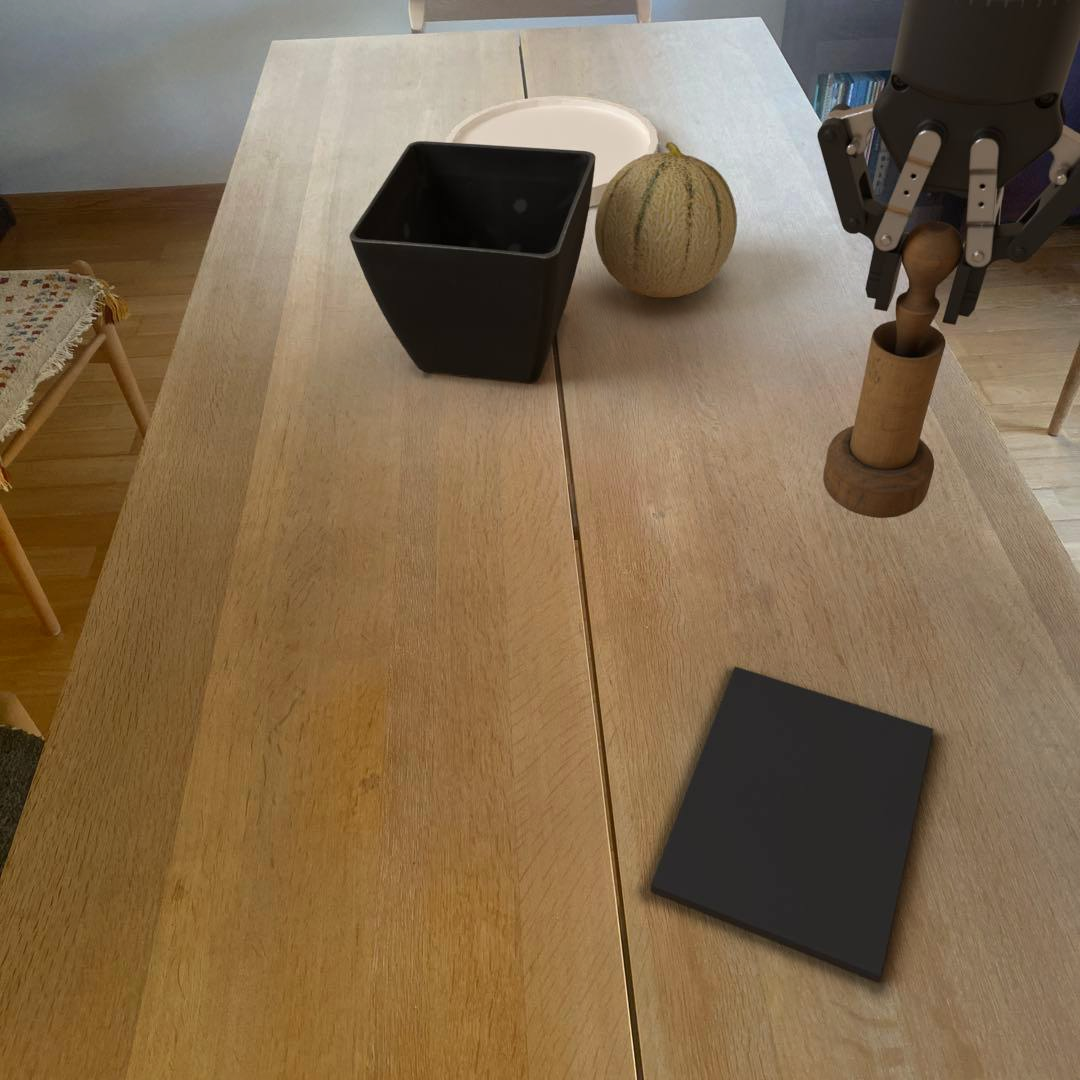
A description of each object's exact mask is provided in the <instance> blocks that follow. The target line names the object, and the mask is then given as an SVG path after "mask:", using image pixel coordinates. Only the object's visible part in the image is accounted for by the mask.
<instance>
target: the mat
mask: <svg viewBox="0 0 1080 1080" xmlns="http://www.w3.org/2000/svg"><path fill="white" fill-rule="evenodd" d="M933 733H934V728H932V727H929V726H926V725H923V724H919V723H916V722H913V721H911V720H907V719H903V718H900V717H897V716H894V715H892V714H891V715H890V714H888V713H884V712H881V711H878V710H875V709H872V708H869V707H865V706H863V705H859V704H857V703H853V702H850V701H847V700H843V699H840V698H838V697H837V698H836V697H835V696H830V695H827V694H824V693H822V692H819V691H815V690H811V689H808V688H805V687H802V686H799V685H795V684H793V683H789V682H786V681H783V680H779V679H777V678H775V677H774V678H773V677H770V676H767V675H763V674H761V673H758V672H755V671H751V670H748V669H745V668H743V667H742V668H741V667H738V666H734V667H733V670H732V673H731V675H730V678H729V680H728V683H727V686H726V689H725V690H724V693H723V696H722V699H721V701H720V704H719V706H718V709H717V711H716V714H715V716H714V719H713V722H712V725H711V727H710V730H709V733H708V735H707V737H706V740H705V743H704V746H703V748H702V750H701V753H700V756H699V758H698V761H697V763H696V766H695V769H694V771H693V774H692V776H691V778H690V782H689V785H688V787H687V790H686V792H685V795H684V797H683V800H682V803H681V805H680V808H679V810H678V812H677V815H676V819H675V821H674V824H673V826H672V829H671V830H670V833H669V837H668V839H667V841H666V844H665V846H664V849H663V852H662V854H661V857H660V860H659V862H658V865H657V868H656V869H655V873H654V875H653V878H652V880H651V883H650V893H653V894H656V895H658V896H660V897H663V898H664V899H665V898H666V899H668V900H671V901H673V902H676V903H678V904H680V905H683V906H686V907H688V908H691V909H693V910H695V911H698V912H701V913H703V914H706V915H708V916H711V917H712V918H716V919H718V920H720V921H723V922H726V923H728V924H730V925H733V926H735V927H739V928H740V929H743V930H745V931H748V932H751V933H752V934H755V935H758V936H761V937H764V938H766V939H768V940H770V941H774V942H776V943H778V944H780V945H783V946H786V947H788V948H791V949H793V950H795V951H799V952H801V953H803V954H806V955H808V956H810V957H813V958H816V959H819V960H821V961H824V962H826V963H828V964H831V965H833V966H836V967H839V968H841V969H843V970H846V971H849V972H851V973H853V974H856V975H859V976H861V977H864V978H866V979H868V980H871V981H872V982H873V981H874V982H876V983H879V981H880V979H881V978H882V974H883V969H884V964H885V961H886V955H887V950H888V945H889V941H890V935H891V931H892V927H893V922H894V917H895V911H896V908H897V904H898V900H899V899H898V898H899V893H900V889H901V884H902V879H903V876H904V875H903V874H904V871H905V864H906V860H907V856H908V851H909V846H910V841H911V837H912V832H913V827H914V823H915V818H916V813H917V808H918V804H919V799H920V795H921V794H920V793H921V789H922V784H923V779H924V775H925V771H926V767H927V761H928V756H929V751H930V746H931V743H932V739H933V738H932V737H933Z"/></svg>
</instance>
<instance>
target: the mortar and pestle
mask: <svg viewBox="0 0 1080 1080" xmlns="http://www.w3.org/2000/svg"><path fill="white" fill-rule="evenodd" d="M907 234H908V235H907V237H906V238H905V240H904V243H903V246H902V251H901V258H902V263H901V264H902V266H903V269H904V272H905V275H906V277H907V279H908V288H907V290H906V291H904V292H902V293H900V294H899V295H898V296H897V298H896V301H895V320H890V321H886V322H883V323H881V324H879V325H878V326H877V327H875V328H874V330H873V331H872V333H871V338H870V343H869V348H868V354H867V359H866V365H865V370H864V375H863V379H862V380H863V381H862V386H861V391H860V395H859V400H858V406H857V410H856V415H855V419H854V422H853V423H854V425H851V426H849V427H846V428H844V429H843V430H841V431H840V432H838V433H837V434H836V435H835V436H834V437H833V438H832V439H831V441H830V443H829V444H828V447H827V452H826V453H827V454H826V457H825V463H824V466H823V473H822V481H823V485H824V488H825V490H826V492H827V493H828V495H829V496H830V498H832V500H833V501H835V503H837V504H838V505H839V506H841V507H842V508H844V509H845V510H848V511H849V512H852V513H854V514H857V515H861V516H865V517H869V518H876V519H890V518H891V519H892V518H897V517H900V516H903V515H907V514H909V513H910V512H913V511H914V510H916V509H917V508H918V507H920V506H921V504H922V503H923V502H924V501H925V499H926V497H927V495H928V492H929V488H930V485H931V481H932V478H933V474H934V469H935V459H934V455H933V453H932V451H931V449H930V448H929V446H928V445H927V444H926V443H925V441H923V440H922V439H921V435H922V432H923V428H924V424H925V419H926V417H927V413H928V408H929V404H930V401H931V397H932V393H933V390H934V386H935V383H936V379H937V376H938V372H939V369H940V366H941V362H942V359H943V355H944V352H945V348H946V343H947V342H946V338H945V335H944V334H943V333H942V332H941V331H940V330H939V329H938V328H936V327H934V326H933V325H931V324H932V323H933V321H934V320H935V318H936V316H937V314H938V312H939V310H940V306H941V302H940V300H939V298H937V296H936V291H937V288H938V286H939V285H940V284H941V283H942V282H943V281H944V280H946V279H947V278H948V277H949V276H950V275H951V274H952V273H953V272H954V271H955V270H956V269H957V266H958V263H959V260H960V258H961V256H962V253H963V249H964V242H963V238H962V235H961V233H960V232H959V231H958V229H957V228H956V227H955V226H953V225H952V224H950V223H948V222H944V221H940V220H928V221H923V222H922V223H919V224H918V225H916V226H914V228H912V229H911V230H910V231H909V233H907Z"/></svg>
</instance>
